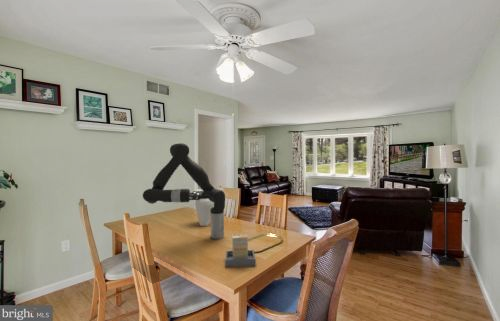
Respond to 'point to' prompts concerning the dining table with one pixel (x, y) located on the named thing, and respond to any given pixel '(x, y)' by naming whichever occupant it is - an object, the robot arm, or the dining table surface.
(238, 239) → the supplement box
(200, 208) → the vase
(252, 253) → the organiser tray
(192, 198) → the robot arm
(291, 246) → the dining table surface
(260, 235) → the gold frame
